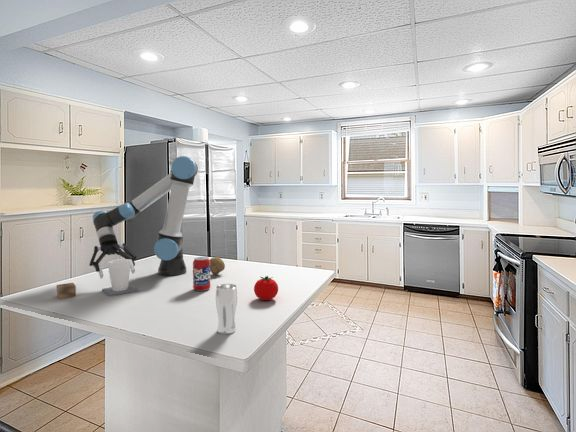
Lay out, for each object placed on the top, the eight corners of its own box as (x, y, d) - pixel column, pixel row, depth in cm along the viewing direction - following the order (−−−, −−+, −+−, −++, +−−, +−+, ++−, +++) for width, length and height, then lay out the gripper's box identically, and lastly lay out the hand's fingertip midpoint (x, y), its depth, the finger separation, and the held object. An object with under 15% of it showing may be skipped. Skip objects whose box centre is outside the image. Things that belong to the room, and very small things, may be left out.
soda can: (204, 286, 162) (204, 255, 161) (213, 289, 157) (213, 258, 156) (190, 289, 157) (189, 257, 156) (198, 293, 151) (198, 260, 150)
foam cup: (122, 292, 148) (121, 263, 147) (103, 291, 150) (102, 262, 149) (135, 286, 158) (135, 259, 157) (118, 285, 159) (117, 258, 158)
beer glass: (226, 324, 116) (226, 282, 115) (241, 329, 112) (241, 285, 111) (211, 331, 110) (211, 287, 109) (226, 336, 106) (226, 290, 105)
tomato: (269, 305, 136) (269, 281, 135) (248, 300, 142) (248, 277, 141) (282, 298, 145) (283, 275, 144) (263, 294, 151) (263, 272, 150)
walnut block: (73, 293, 150) (72, 282, 149) (75, 296, 145) (75, 285, 145) (57, 296, 146) (56, 284, 145) (59, 299, 141) (58, 288, 141)
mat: (129, 285, 162) (129, 283, 162) (138, 291, 154) (138, 289, 154) (102, 290, 154) (102, 288, 154) (110, 296, 145) (110, 294, 145)
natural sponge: (223, 272, 190) (223, 255, 190) (225, 276, 182) (225, 258, 181) (207, 273, 187) (207, 255, 187) (208, 277, 179) (208, 259, 178)
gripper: (132, 240, 174) (143, 274, 165) (76, 245, 157) (86, 283, 147) (135, 231, 170) (147, 265, 160) (79, 235, 153) (89, 274, 143)
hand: (118, 274), depth 154 cm, fingers open, 13 cm apart
